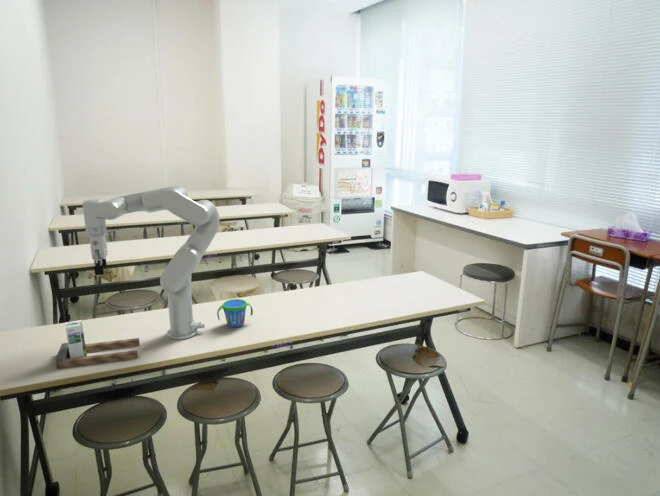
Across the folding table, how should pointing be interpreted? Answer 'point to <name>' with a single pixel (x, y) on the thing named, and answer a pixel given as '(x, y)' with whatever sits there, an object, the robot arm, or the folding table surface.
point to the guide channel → (65, 360)
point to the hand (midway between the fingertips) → (101, 271)
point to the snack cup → (235, 312)
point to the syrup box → (75, 339)
